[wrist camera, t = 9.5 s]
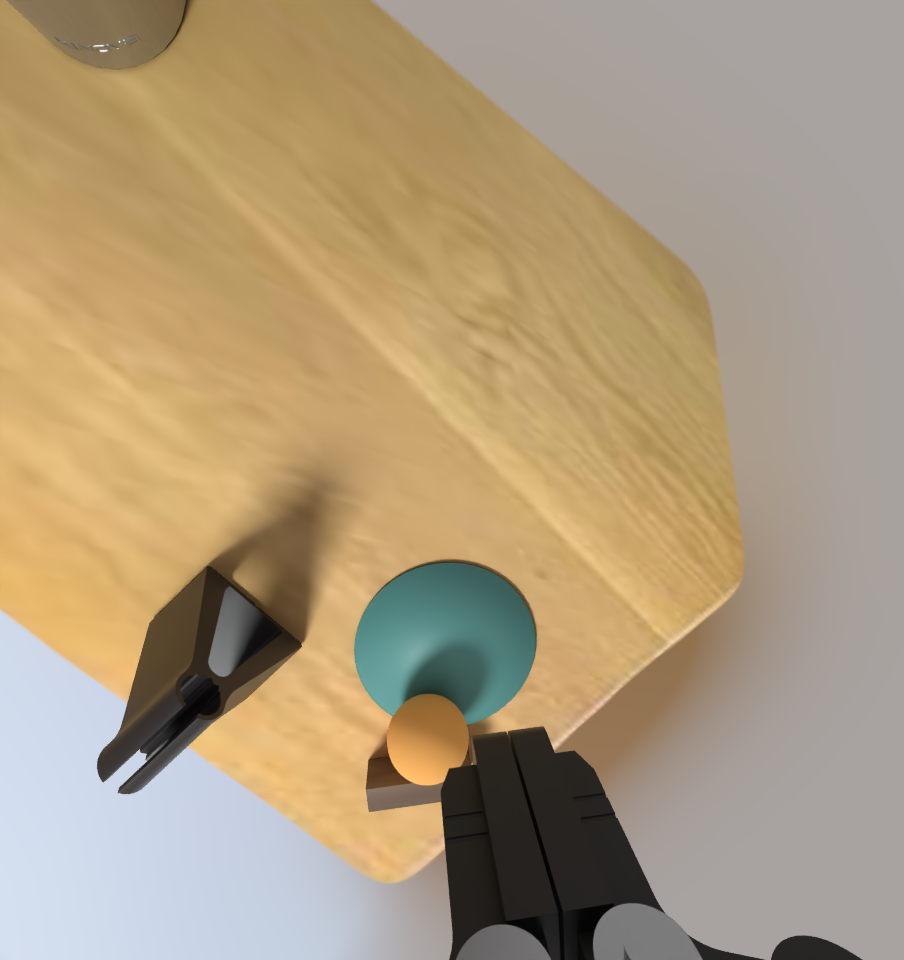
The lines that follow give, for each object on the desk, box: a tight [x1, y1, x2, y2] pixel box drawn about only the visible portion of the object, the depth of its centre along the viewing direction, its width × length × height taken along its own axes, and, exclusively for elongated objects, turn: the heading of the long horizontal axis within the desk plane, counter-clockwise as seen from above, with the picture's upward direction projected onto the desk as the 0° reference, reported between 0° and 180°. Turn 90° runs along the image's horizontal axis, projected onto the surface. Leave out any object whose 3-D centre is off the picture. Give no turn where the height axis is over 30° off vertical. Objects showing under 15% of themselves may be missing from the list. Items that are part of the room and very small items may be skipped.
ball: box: [387, 694, 469, 785], centre depth 37 cm, size 6×6×6 cm
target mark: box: [354, 562, 536, 725], centre depth 39 cm, size 14×14×1 cm
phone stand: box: [97, 566, 302, 794], centre depth 32 cm, size 9×6×12 cm, turn 43°
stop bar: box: [366, 750, 471, 812], centre depth 40 cm, size 2×8×3 cm, turn 95°
